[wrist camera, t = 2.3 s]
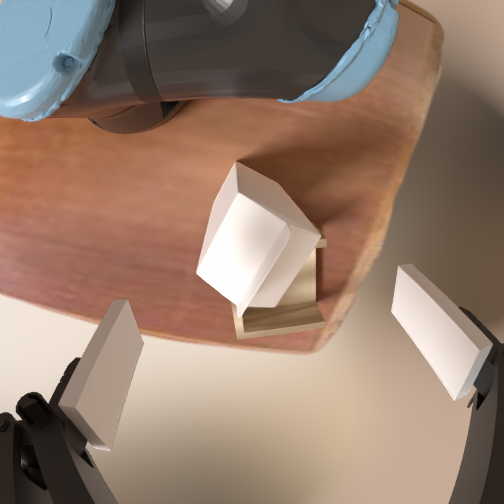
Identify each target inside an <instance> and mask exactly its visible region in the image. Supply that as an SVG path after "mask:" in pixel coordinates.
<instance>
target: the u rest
mask: <svg viewBox="0 0 504 504" xmlns="http://www.w3.org/2000/svg"><path fill="white" fill-rule="evenodd" d="M311 223H312V225H313V226H314V227H315V228H316V230H317V231H318V232H319V233H320V235H321V238H320V240H319V241H318V243H317V244H316V246H315V248H314V249H313V251H312V252H311V254H310V255H309V257H308V258H307V260H306V262H305V263H304V265H303V266H302V268H301V269H300V271H299V272H298V274H297V275H296V277H295V278H294V280H293V281H292V283H291V284H290V286H289V287H288V289H287V290H286V292H285V293H284V295H283V296H282V298H281V299H280V301H279V302H278V304H277V305H276V307H249V306H248V307H247V308H246V310H245V311H244V313H243V315H242V316H241V317H240V318H239V317H237V306H236V304H234V303H233V302H232V301H231V304H232V310H233V316H234V322H235V328H236V334H237V339H245V338H254V337H262V336H270V335H278V334H285V333H292V332H299V331H305V330H312V329H318V328H324V327H325V321H324V318H323V316H322V314H321V312H320V309H319V307H318V305H317V303H316V248H322V247H326V238H325V236H324V235H323V234H322V233H321V231H320V230H319V229H318V228H317V227H316V225H315V224H314V223H313V222H311Z"/></svg>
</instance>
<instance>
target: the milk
mask: <svg viewBox="0 0 504 504" xmlns="http://www.w3.org/2000/svg"><path fill="white" fill-rule="evenodd" d="M320 238H321V235H320V233H319V232H318V231H317V230H316V228H315V227H314V226H313V225H312V223H311V222H310V221H309V220H308V218H307V217H306V216H305V215H304V214H303V212H302V211H301V210H300V209H299V207H298V206H297V205H296V204H295V203H294V201H293V200H292V199H291V198H290V197H289V195H288V194H287V193H286V192H285V191H284V189H283V188H282V187H281V186H280V185H279V184H278V183H277V182H275V181H273V180H271V179H269V178H268V177H266V176H264V175H262V174H260V173H258V172H256V171H254V170H253V169H251V168H249V167H247V166H245V165H243V164H241V163H239V162H237V161H235V163H234V165H233V167H232V168H231V170H230V172H229V174H228V176H227V178H226V180H225V182H224V183H223V185H222V187H221V189H220V191H219V193H218V195H217V197H216V199H215V201H214V203H213V206H212V210H211V214H210V218H209V222H208V226H207V230H206V234H205V238H204V242H203V247H202V251H201V255H200V259H199V263H198V268H197V274H198V275H199V276H200V277H201V278H202V279H204V280H205V281H206V282H207V283H209V284H210V285H211V286H212V287H214V288H215V289H216V290H218V291H219V292H220V293H221V294H223V295H224V296H225V297H226V298H228V299H229V300H230V301H232V302H233V303H234V304H236V306H237V317H239V318H240V317H241V316H242V315H243V313H244V311H245V310H246V308H247V307H248V306H249V307H276V305H277V304H278V302H279V301H280V299H281V298H282V296H283V295H284V293H285V292H286V290H287V289H288V287H289V286H290V284H291V283H292V281H293V280H294V278H295V277H296V275H297V274H298V272H299V271H300V269H301V268H302V266H303V265H304V263H305V262H306V260H307V258H308V257H309V255H310V254H311V252H312V251H313V249H314V248H315V246H316V244H317V243H318V241H319V240H320Z"/></svg>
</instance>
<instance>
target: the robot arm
mask: <svg viewBox="0 0 504 504" xmlns="http://www.w3.org/2000/svg"><path fill="white" fill-rule="evenodd" d="M398 2H399V0H2V2H1V4H0V115H1V116H3V117H7V118H14V119H22V120H23V121H30V122H34V121H39V120H42V119H44V118H88V119H89V120H90V121H91V122H92V123H93V124H95V125H96V126H98V127H99V128H101V129H103V130H106V131H109V132H112V133H118V134H133V133H141V132H145V131H149V130H152V129H154V128H156V127H158V126H160V125H162V124H164V123H165V122H167V121H168V120H170V119H171V118H172V117H173V116H175V115H176V114H177V113H178V112H179V111H180V109H181V108H182V107H183V106H184V105H185V103H186V102H187V100H195V99H219V98H261V99H277V100H278V101H280V102H284V103H294V102H300V101H321V102H336V101H339V100H343V99H347V98H349V97H352V96H354V95H356V94H357V93H358V92H360V91H361V90H363V89H364V88H365V87H366V86H367V85H368V84H369V83H370V82H371V81H372V80H373V79H374V77H375V76H376V75H377V74H378V72H379V71H380V69H381V68H382V66H383V65H384V63H385V61H386V59H387V57H388V55H389V53H390V51H391V49H392V46H393V43H394V40H395V37H396V33H397V29H398V23H399V13H398V12H397V11H396V10H395V7H396V5H397V4H398ZM392 313H393V315H394V316H395V317H396V318H397V320H398V321H399V322H400V324H401V325H402V326H403V328H404V329H405V330H406V332H407V333H408V335H409V336H410V337H411V339H412V340H413V341H414V343H415V344H416V346H417V347H418V348H419V350H420V351H421V353H422V354H423V355H424V357H425V358H426V360H427V361H428V363H429V364H430V365H431V367H432V368H433V370H434V371H435V373H436V374H437V376H438V377H439V378H440V380H441V382H442V383H443V385H444V386H445V388H446V389H447V390H448V392H449V394H450V395H451V397H452V398H453V400H454V401H455V400H457V399H459V398H462V397H464V396H466V395H467V394H468V393H469V391H470V389H471V387H472V386H473V385H474V386H475V387H476V389H477V390H476V392H475V393H474V395H473V397H472V399H471V400H470V402H469V404H468V406H467V407H468V408H469V407H470V406H471V404H472V403H473V407H472V414H471V420H470V426H469V431H468V436H467V441H466V446H465V450H464V454H463V458H462V463H461V466H460V470H459V473H458V477H457V480H456V483H455V486H454V490H453V492H452V496H451V498H450V501H449V504H504V343H503V344H501V343H500V342H499V341H498V340H497V339H496V338H495V336H494V335H493V334H492V333H491V332H490V331H489V330H488V329H487V328H486V327H485V326H484V325H482V323H481V322H480V321H479V320H477V318H476V317H475V316H474V315H473V314H472V313H471V312H470V311H468V310H466V309H464V308H462V307H457V306H456V305H455V304H454V303H453V302H452V301H451V300H450V299H449V298H448V297H447V296H446V295H444V294H443V293H442V292H441V291H440V290H439V289H438V288H437V287H436V286H435V285H434V284H433V283H432V282H431V281H429V280H428V279H427V278H426V277H425V276H424V275H423V274H422V273H421V272H420V271H418V270H417V269H416V268H415V267H414V266H413V265H412V264H405V265H399V266H398V272H397V279H396V286H395V292H394V300H393V305H392ZM143 345H144V342H143V340H142V337H141V335H140V332H139V329H138V327H137V324H136V321H135V318H134V316H133V313H132V310H131V307H130V304H129V301H128V299H119V300H114V301H113V302H112V304H111V306H110V307H109V309H108V311H107V312H106V314H105V316H104V317H103V319H102V321H101V323H100V324H99V326H98V328H97V330H96V332H95V333H94V335H93V337H92V339H91V341H90V343H89V344H88V346H87V348H86V350H85V352H84V354H83V355H82V357H81V358H75V359H74V360H73V361H72V362H71V363H70V364H69V365H68V366H67V368H66V370H65V372H64V376H62V378H61V380H60V383H59V384H58V385H57V387H56V389H55V392H54V393H53V395H52V397H51V399H50V401H49V404H48V403H47V402H46V400H45V399H44V398H43V397H42V395H41V394H39V393H37V392H31V393H27V394H26V395H24V396H23V397H21V399H20V400H19V401H18V403H17V405H16V413H17V414H18V415H19V416H20V417H21V418H22V420H19V421H17V420H16V419H15V418H14V417H13V416H12V414H10V413H8V412H4V413H1V414H0V504H118V502H117V500H116V499H115V497H114V496H113V494H112V492H111V491H110V489H109V488H108V486H107V484H106V482H105V481H104V479H103V477H102V475H101V474H100V472H99V470H98V468H97V467H96V465H95V463H94V461H93V459H92V457H91V455H90V453H89V451H88V450H87V449H86V448H85V447H86V444H87V441H88V442H89V443H90V444H91V445H92V446H93V447H94V448H95V449H101V450H108V451H111V450H112V446H113V442H114V439H115V435H116V431H117V428H118V424H119V421H120V417H121V414H122V410H123V406H124V403H125V400H126V397H127V394H128V390H129V387H130V384H131V381H132V378H133V375H134V371H135V368H136V365H137V362H138V359H139V356H140V353H141V350H142V348H143ZM21 461H22V466H21Z"/></svg>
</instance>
